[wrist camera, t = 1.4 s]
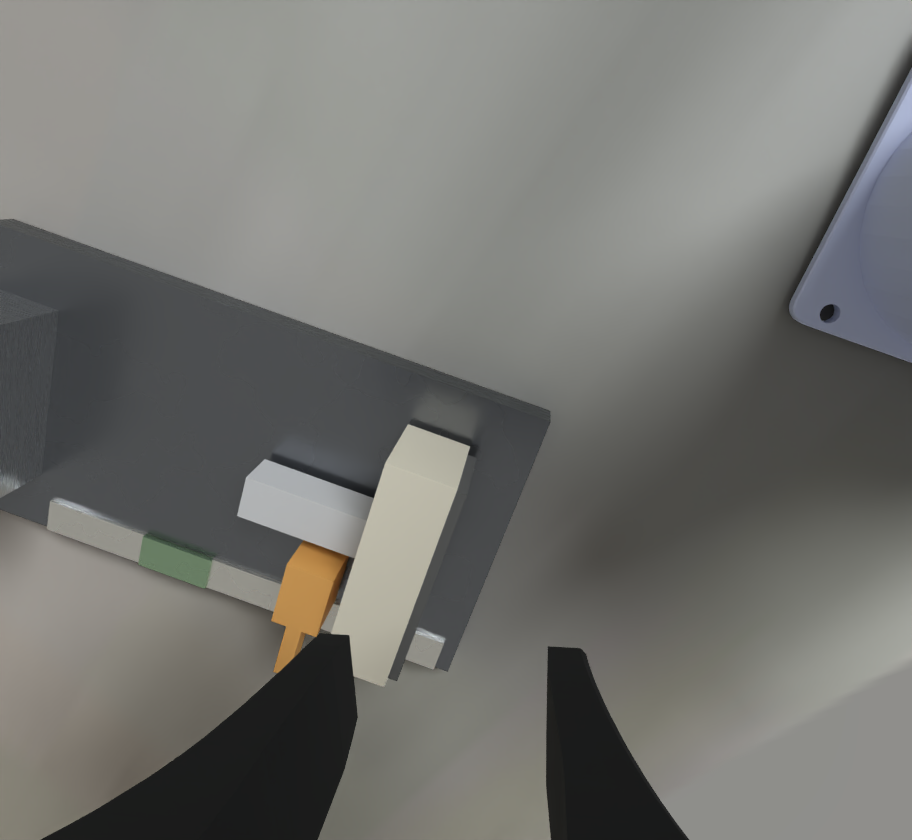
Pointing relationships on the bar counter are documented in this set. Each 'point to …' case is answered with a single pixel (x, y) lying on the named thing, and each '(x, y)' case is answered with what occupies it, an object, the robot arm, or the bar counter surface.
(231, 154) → the bar counter surface
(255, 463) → the plate
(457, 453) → the cream and grey block
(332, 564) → the orange stepped block
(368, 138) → the bar counter surface
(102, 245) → the bar counter surface
